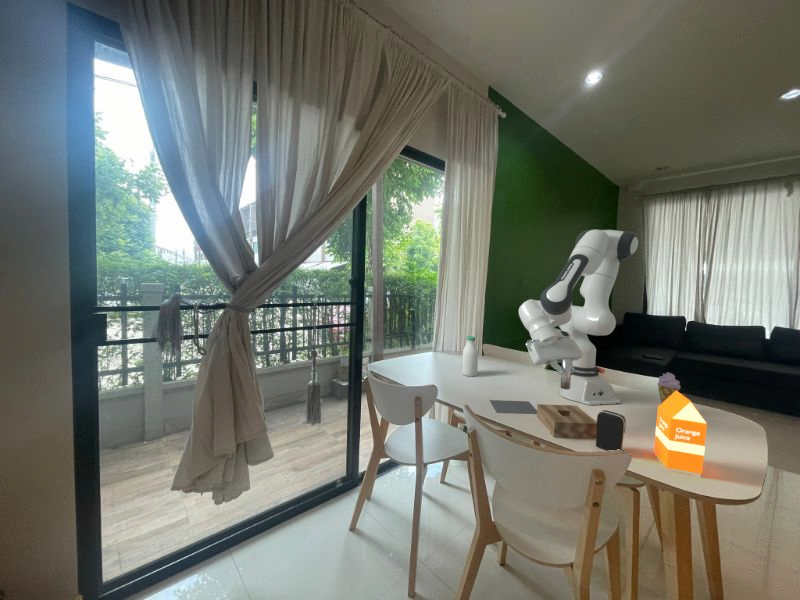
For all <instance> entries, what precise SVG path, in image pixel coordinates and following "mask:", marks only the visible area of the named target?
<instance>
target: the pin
mask: <svg viewBox="0 0 800 600" xmlns="http://www.w3.org/2000/svg"><path fill="white" fill-rule="evenodd" d="M561 367H563V368H564V370H565V371H566V372H565V373H564V374H560V388H562V389H570V385H571V367H572V359H569V358H562V362H561Z"/></svg>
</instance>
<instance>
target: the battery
mask: <svg viewBox="0 0 800 600" xmlns="http://www.w3.org/2000/svg"><path fill="white" fill-rule="evenodd" d="M596 417H597V418H596V422H597V428H596V439H595V446H596V447H597V448H600V449H602V450H605V451H607V450H617V449H620V450H622V451H623V446H624V445H623V444H624V443H623V442H624V438H625V434H626V423H627V421H626V417H625V416H624V415H622V414H620V413H618V412H614V411H611V410H607V409H602V410H601V411H599V412H598V413H597V416H596Z"/></svg>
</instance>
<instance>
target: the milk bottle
mask: <svg viewBox="0 0 800 600" xmlns="http://www.w3.org/2000/svg"><path fill="white" fill-rule="evenodd" d="M465 339H466V343H465V346H464V348H463V350H462V362H461V364H462V365H461V366H462V367H461V373H462V376H464V377H471V378H473V376H474V377H476V376H478V370H479V369H478V368H479V367H478V364H479V352H478V348H477V345H476V336H473V335H469V336H466V337H465Z"/></svg>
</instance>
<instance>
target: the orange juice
mask: <svg viewBox="0 0 800 600" xmlns="http://www.w3.org/2000/svg"><path fill="white" fill-rule="evenodd" d="M707 427H708V423H707V422H706V420H705V419H704V418H703V415H701V414H700V412H699V411H698V410H697V408H696V407H695V405H694V404H693V402H692V401H691V400H690V399H689V398H688V397H686V396H685V395H683V394H682V393H680V392H679V390H678V391H675V392H674V393H673V394H672V395H671V396H670V397H668V398H667V399H666V400H665V401H664V402H663V403H661V404H659V405H658V406H657V416H656V425H655V437H654V449H653V453H654V452H655V454H656V455H657V456H658V457H659V459H660V460H661V461H662V463H663V464H664V465H665V467H666V468H670V469H677V470H683V471H688V472H693V473H698V474H702V475H703V468H704V456H705V451H706V449H705V448H706V446H705V445H706V438H707Z"/></svg>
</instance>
